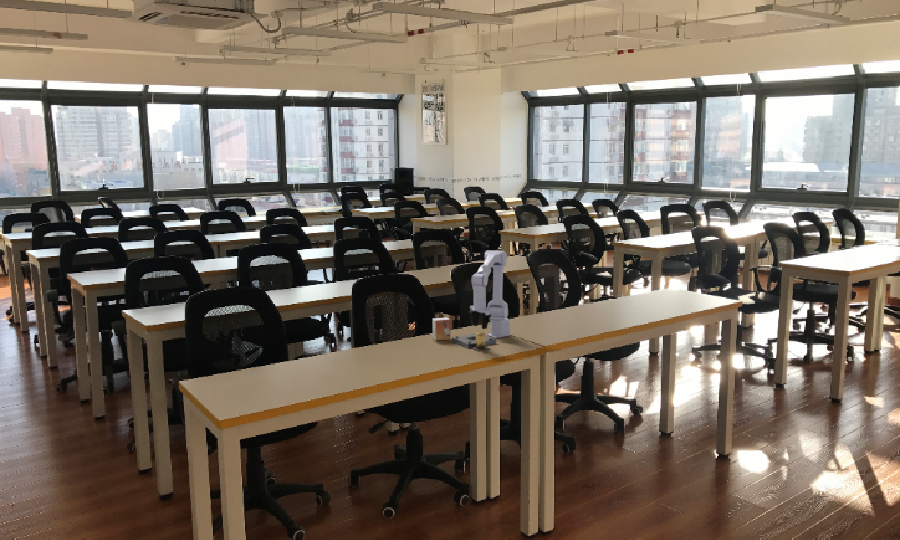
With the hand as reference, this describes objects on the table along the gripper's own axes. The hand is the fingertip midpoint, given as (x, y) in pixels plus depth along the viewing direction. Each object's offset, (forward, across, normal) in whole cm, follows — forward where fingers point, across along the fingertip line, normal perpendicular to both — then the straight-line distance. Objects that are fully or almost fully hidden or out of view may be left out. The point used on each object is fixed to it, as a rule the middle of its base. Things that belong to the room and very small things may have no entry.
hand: (480, 327), depth 337 cm
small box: (+11, -26, -7) cm, 29 cm away
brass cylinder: (+10, 0, 0) cm, 10 cm away
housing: (+10, -12, +3) cm, 16 cm away
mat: (+10, 0, 0) cm, 10 cm away
